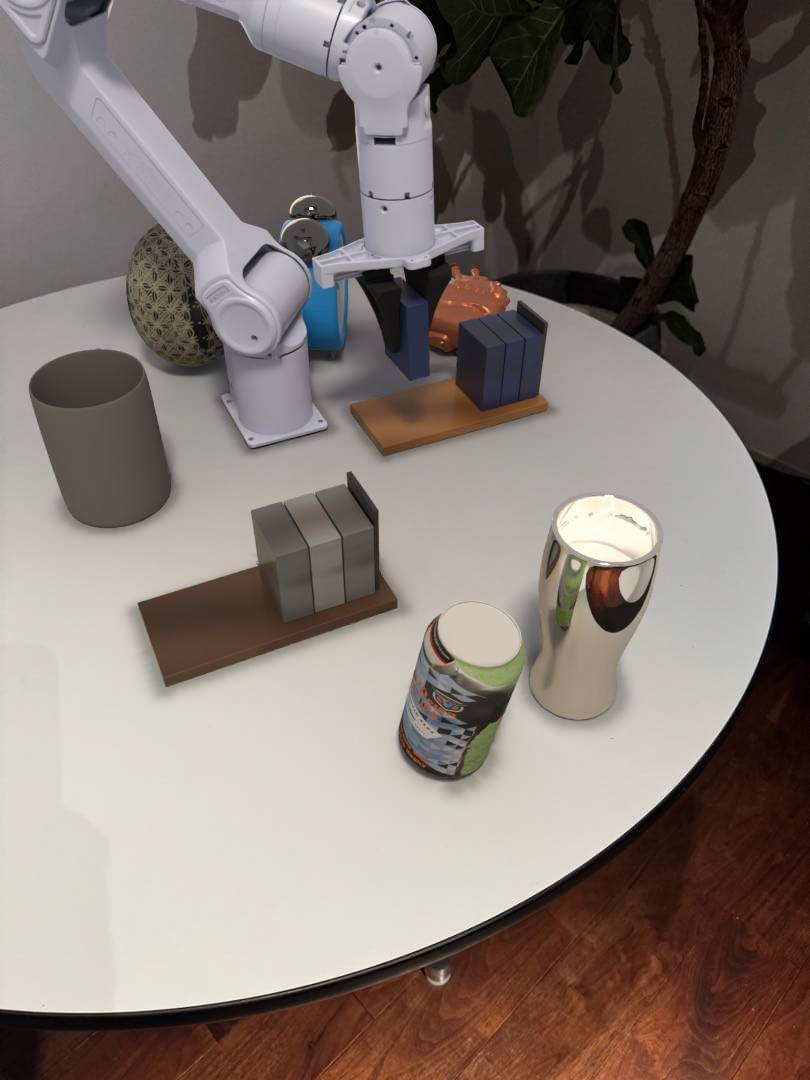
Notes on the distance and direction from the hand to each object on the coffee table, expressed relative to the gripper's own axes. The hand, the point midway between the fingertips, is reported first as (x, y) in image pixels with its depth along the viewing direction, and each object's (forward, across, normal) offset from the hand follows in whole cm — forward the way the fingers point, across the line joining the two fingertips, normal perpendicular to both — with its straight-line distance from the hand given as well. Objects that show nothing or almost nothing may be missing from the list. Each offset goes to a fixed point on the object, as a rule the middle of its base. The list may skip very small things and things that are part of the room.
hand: (405, 344), depth 77 cm
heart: (+10, +13, +17) cm, 24 cm away
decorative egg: (+9, -15, +22) cm, 28 cm away
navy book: (+2, 0, 0) cm, 2 cm away
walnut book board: (+10, -19, -16) cm, 27 cm away
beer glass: (+11, -2, -32) cm, 34 cm away
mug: (+9, -26, +5) cm, 28 cm away
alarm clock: (+9, -2, +20) cm, 23 cm away
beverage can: (+11, -12, -33) cm, 36 cm away
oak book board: (+10, +6, +3) cm, 12 cm away
